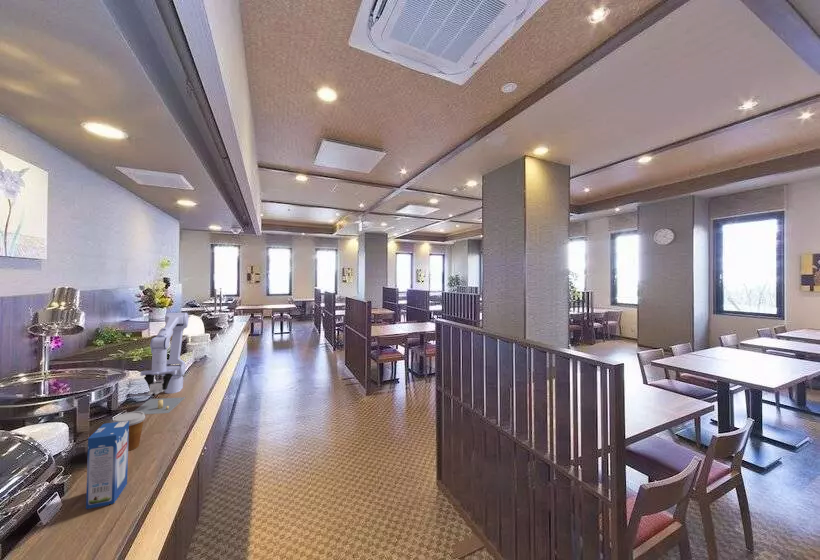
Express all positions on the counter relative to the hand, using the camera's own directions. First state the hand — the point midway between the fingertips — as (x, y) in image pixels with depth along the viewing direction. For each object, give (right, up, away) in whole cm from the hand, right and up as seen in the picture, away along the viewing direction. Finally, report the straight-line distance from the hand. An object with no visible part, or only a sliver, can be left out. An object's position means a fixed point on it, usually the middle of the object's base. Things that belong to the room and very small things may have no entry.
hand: (158, 389), depth 161 cm
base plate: (0, -9, 0) cm, 9 cm away
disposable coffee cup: (+16, -10, -36) cm, 41 cm away
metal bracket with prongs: (0, -1, -1) cm, 1 cm away
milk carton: (+33, -11, -63) cm, 72 cm away
